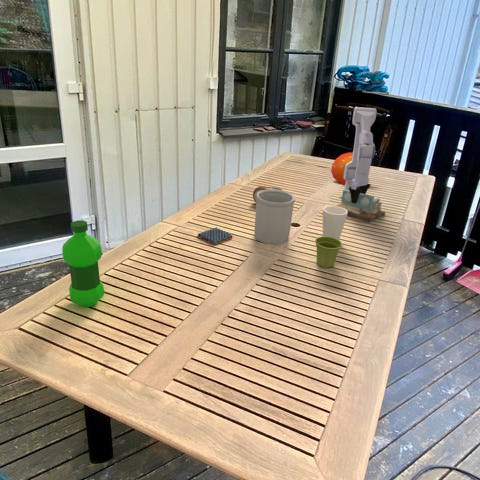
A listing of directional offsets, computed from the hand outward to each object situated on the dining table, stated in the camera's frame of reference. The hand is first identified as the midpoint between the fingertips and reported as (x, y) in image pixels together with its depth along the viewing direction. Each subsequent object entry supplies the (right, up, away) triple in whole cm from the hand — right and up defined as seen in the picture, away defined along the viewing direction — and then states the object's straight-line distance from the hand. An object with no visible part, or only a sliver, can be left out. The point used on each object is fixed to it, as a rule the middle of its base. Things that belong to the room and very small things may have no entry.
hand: (357, 200), depth 200 cm
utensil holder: (-41, -17, -24) cm, 50 cm away
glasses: (+2, -1, +4) cm, 5 cm away
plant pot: (-23, -26, -42) cm, 55 cm away
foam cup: (-17, -18, -24) cm, 35 cm away
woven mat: (-63, -17, -27) cm, 71 cm away
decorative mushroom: (+7, +15, +47) cm, 50 cm away
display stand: (+2, -5, +5) cm, 7 cm away
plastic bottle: (-98, -36, -71) cm, 126 cm away
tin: (-40, -1, +8) cm, 41 cm away
